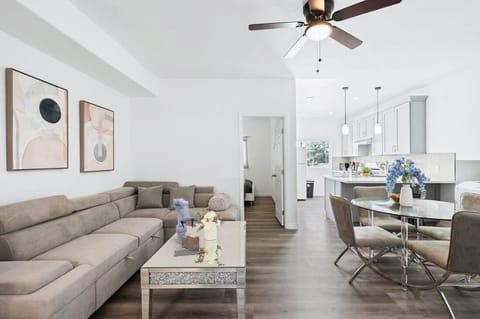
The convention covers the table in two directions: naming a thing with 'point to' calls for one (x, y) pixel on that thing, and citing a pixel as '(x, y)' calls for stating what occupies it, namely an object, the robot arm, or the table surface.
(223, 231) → the table surface
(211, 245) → the table surface
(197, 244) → the stack of blocks
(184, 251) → the mat
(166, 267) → the table surface
